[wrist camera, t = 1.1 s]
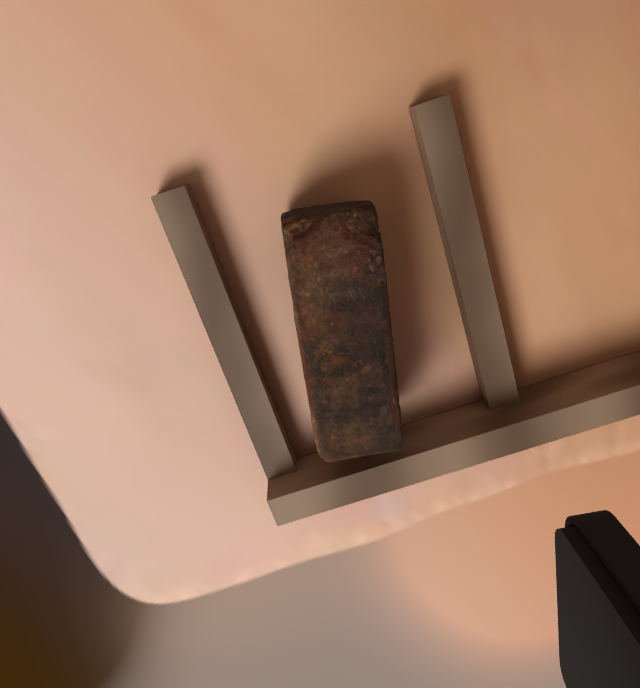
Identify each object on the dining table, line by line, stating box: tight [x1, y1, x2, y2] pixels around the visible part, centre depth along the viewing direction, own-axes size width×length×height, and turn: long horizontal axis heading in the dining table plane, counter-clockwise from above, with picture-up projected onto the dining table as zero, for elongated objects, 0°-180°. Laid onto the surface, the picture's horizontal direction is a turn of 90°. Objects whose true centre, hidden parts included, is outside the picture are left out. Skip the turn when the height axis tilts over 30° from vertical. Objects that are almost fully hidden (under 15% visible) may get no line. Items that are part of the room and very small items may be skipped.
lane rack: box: [151, 94, 640, 526], centre depth 26 cm, size 24×16×3 cm, turn 108°
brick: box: [281, 201, 403, 462], centre depth 26 cm, size 11×4×5 cm, turn 8°
